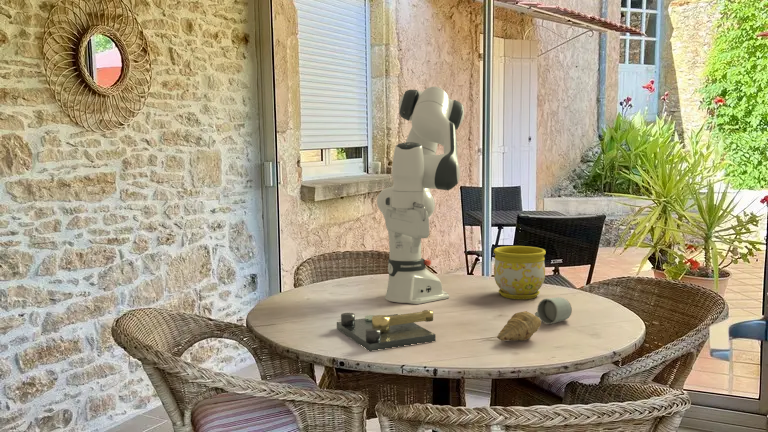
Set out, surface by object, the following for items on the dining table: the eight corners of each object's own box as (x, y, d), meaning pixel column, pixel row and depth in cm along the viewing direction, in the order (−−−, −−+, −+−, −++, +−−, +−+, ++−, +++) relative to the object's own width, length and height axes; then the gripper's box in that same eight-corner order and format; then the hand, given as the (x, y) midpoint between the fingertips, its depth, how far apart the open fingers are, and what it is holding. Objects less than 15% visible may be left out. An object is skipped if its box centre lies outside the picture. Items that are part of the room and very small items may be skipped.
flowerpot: (555, 296, 239) (556, 250, 237) (519, 304, 229) (519, 256, 227) (518, 287, 254) (519, 244, 252) (482, 294, 243) (483, 249, 242)
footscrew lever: (376, 333, 189) (376, 320, 188) (369, 328, 193) (369, 316, 193) (436, 324, 197) (436, 312, 196) (428, 320, 201) (428, 308, 201)
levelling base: (397, 320, 210) (397, 304, 209) (435, 341, 188) (435, 323, 188) (336, 328, 201) (336, 312, 201) (369, 351, 180) (369, 333, 179)
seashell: (513, 350, 180) (513, 321, 179) (489, 343, 186) (489, 315, 185) (543, 339, 189) (544, 311, 188) (519, 333, 195) (520, 306, 194)
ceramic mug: (573, 321, 207) (573, 297, 206) (556, 326, 202) (557, 301, 201) (545, 315, 215) (545, 291, 214) (528, 319, 210) (528, 295, 209)
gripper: (435, 204, 180) (434, 255, 182) (401, 198, 199) (400, 245, 200) (414, 204, 178) (413, 256, 179) (381, 198, 196) (380, 246, 198)
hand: (406, 250), depth 190 cm, fingers open, 8 cm apart
